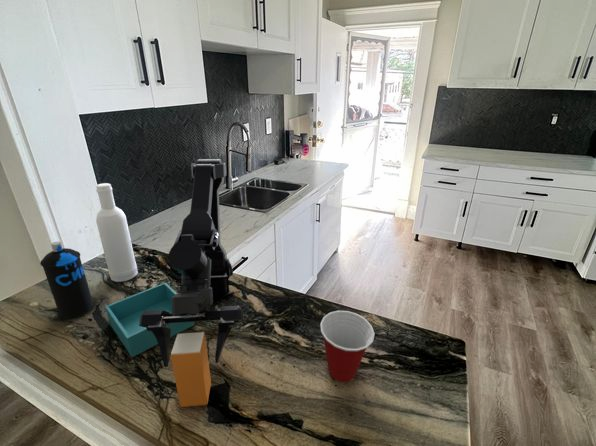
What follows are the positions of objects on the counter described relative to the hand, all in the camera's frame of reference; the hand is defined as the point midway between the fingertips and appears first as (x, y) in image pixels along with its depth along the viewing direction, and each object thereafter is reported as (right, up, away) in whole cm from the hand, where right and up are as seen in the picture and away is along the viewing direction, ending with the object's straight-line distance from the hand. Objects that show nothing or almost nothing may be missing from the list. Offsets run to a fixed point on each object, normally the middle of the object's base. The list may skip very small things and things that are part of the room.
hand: (191, 364), depth 59 cm
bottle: (-36, +10, +42) cm, 56 cm away
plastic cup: (+30, -5, +9) cm, 31 cm away
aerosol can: (-40, +3, +26) cm, 48 cm away
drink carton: (0, -7, +3) cm, 8 cm away
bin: (-17, +1, +21) cm, 27 cm away
